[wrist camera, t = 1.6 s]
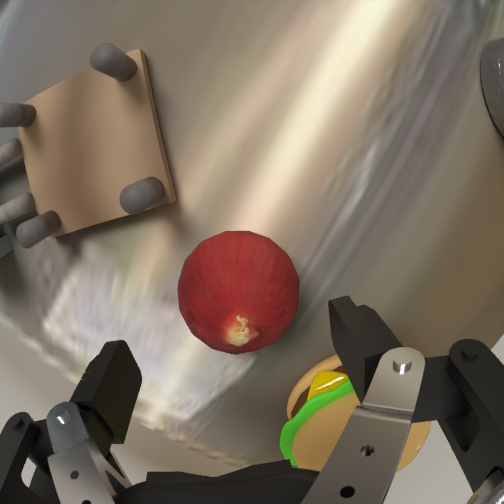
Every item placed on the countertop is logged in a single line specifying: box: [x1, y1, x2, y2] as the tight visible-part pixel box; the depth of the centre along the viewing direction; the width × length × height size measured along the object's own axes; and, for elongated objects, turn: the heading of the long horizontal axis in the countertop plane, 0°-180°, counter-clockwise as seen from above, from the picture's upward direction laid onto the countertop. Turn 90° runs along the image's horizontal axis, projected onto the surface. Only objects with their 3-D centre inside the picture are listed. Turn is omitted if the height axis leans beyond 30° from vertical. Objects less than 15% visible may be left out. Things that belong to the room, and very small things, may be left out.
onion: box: [178, 231, 299, 355], centre depth 15 cm, size 6×6×8 cm
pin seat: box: [0, 43, 177, 248], centre depth 14 cm, size 13×9×4 cm
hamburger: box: [280, 354, 431, 472], centre depth 19 cm, size 12×12×9 cm
